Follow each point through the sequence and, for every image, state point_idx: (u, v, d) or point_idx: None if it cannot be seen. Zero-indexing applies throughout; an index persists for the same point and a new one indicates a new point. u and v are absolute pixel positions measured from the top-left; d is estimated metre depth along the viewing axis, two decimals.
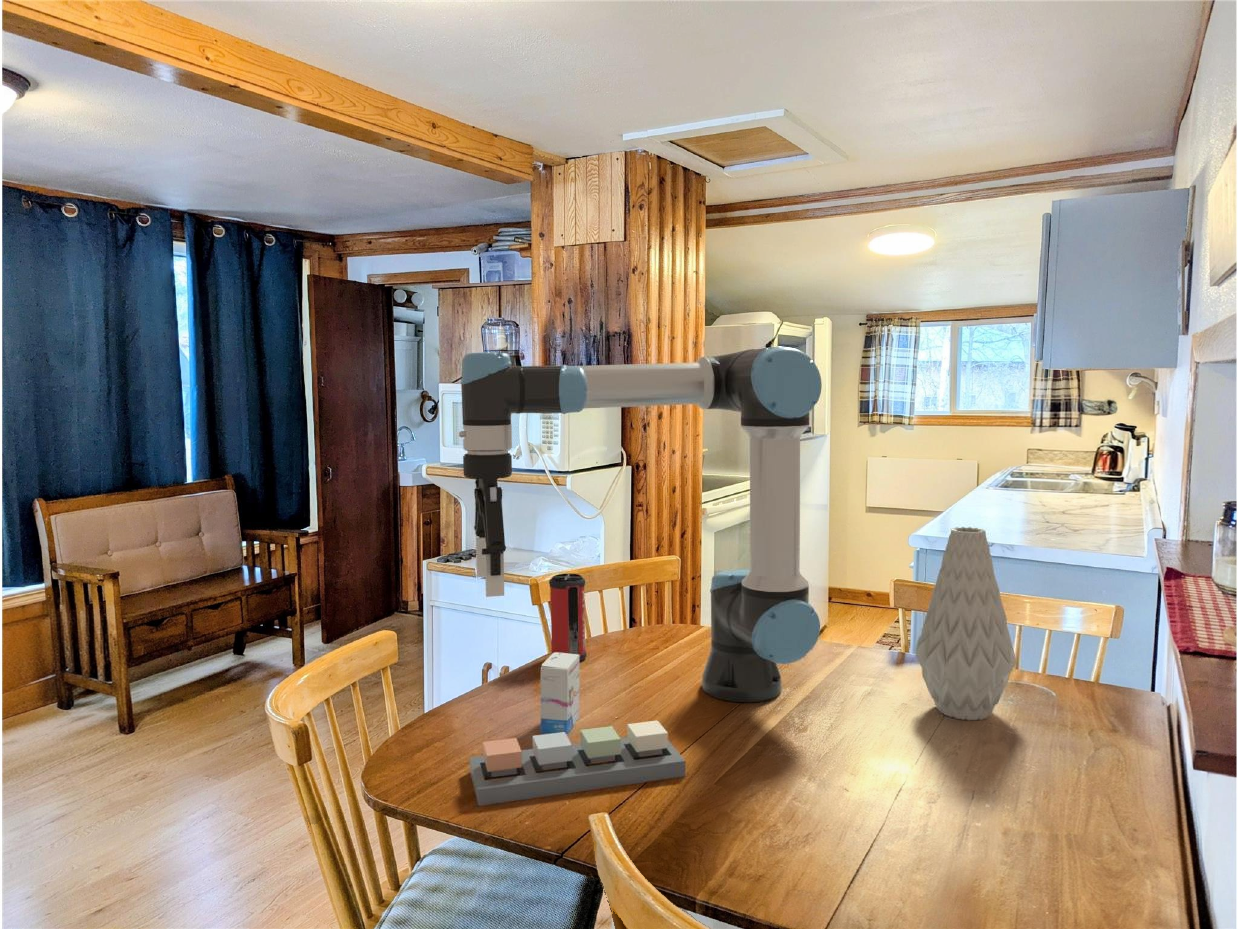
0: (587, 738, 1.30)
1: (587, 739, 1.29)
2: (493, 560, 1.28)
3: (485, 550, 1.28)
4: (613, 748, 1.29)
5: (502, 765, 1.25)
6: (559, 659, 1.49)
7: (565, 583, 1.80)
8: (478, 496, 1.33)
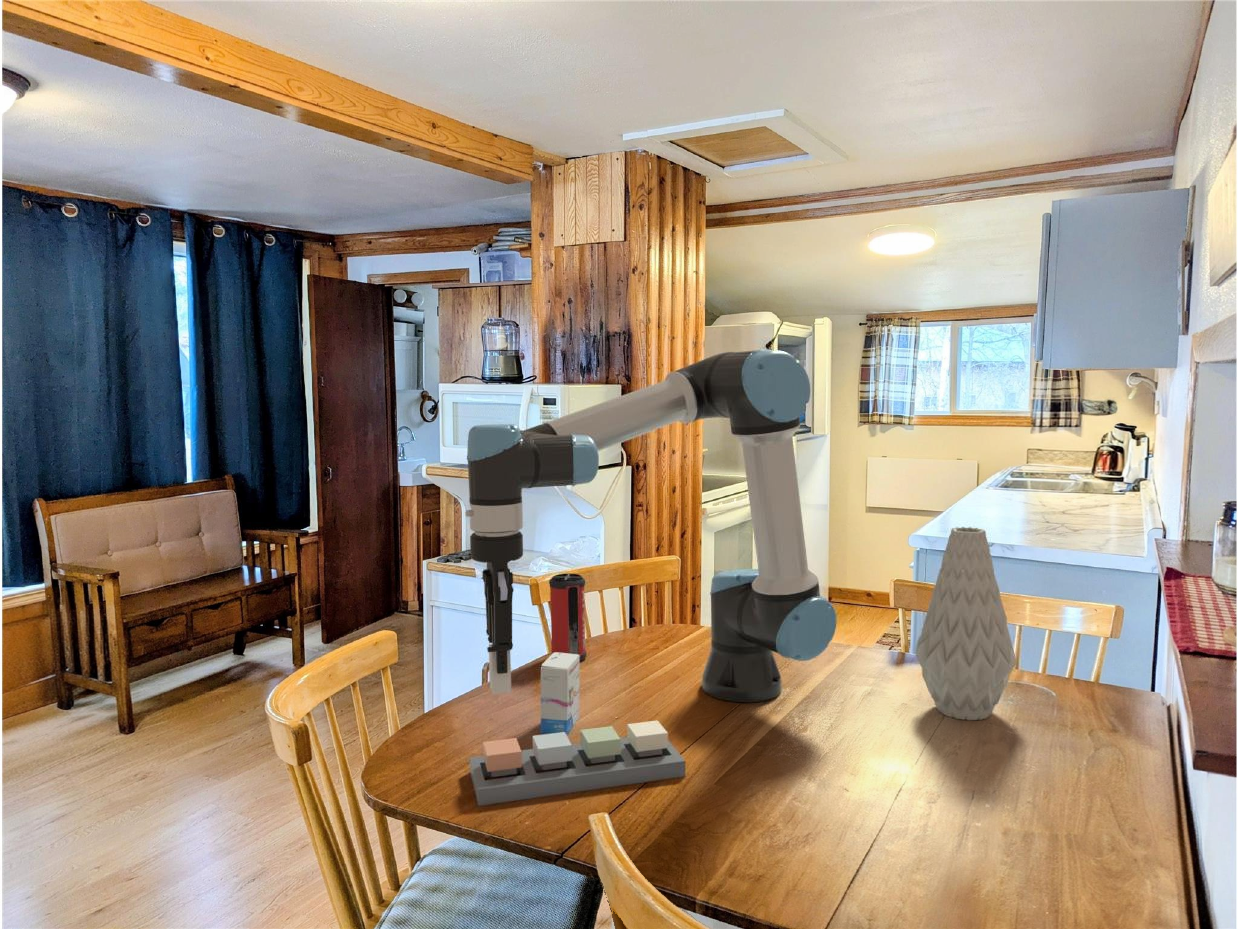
0: (587, 738, 1.30)
1: (587, 739, 1.29)
2: (499, 658, 1.23)
3: (491, 650, 1.23)
4: (613, 748, 1.29)
5: (502, 765, 1.25)
6: (559, 659, 1.49)
7: (565, 583, 1.80)
8: (487, 584, 1.22)
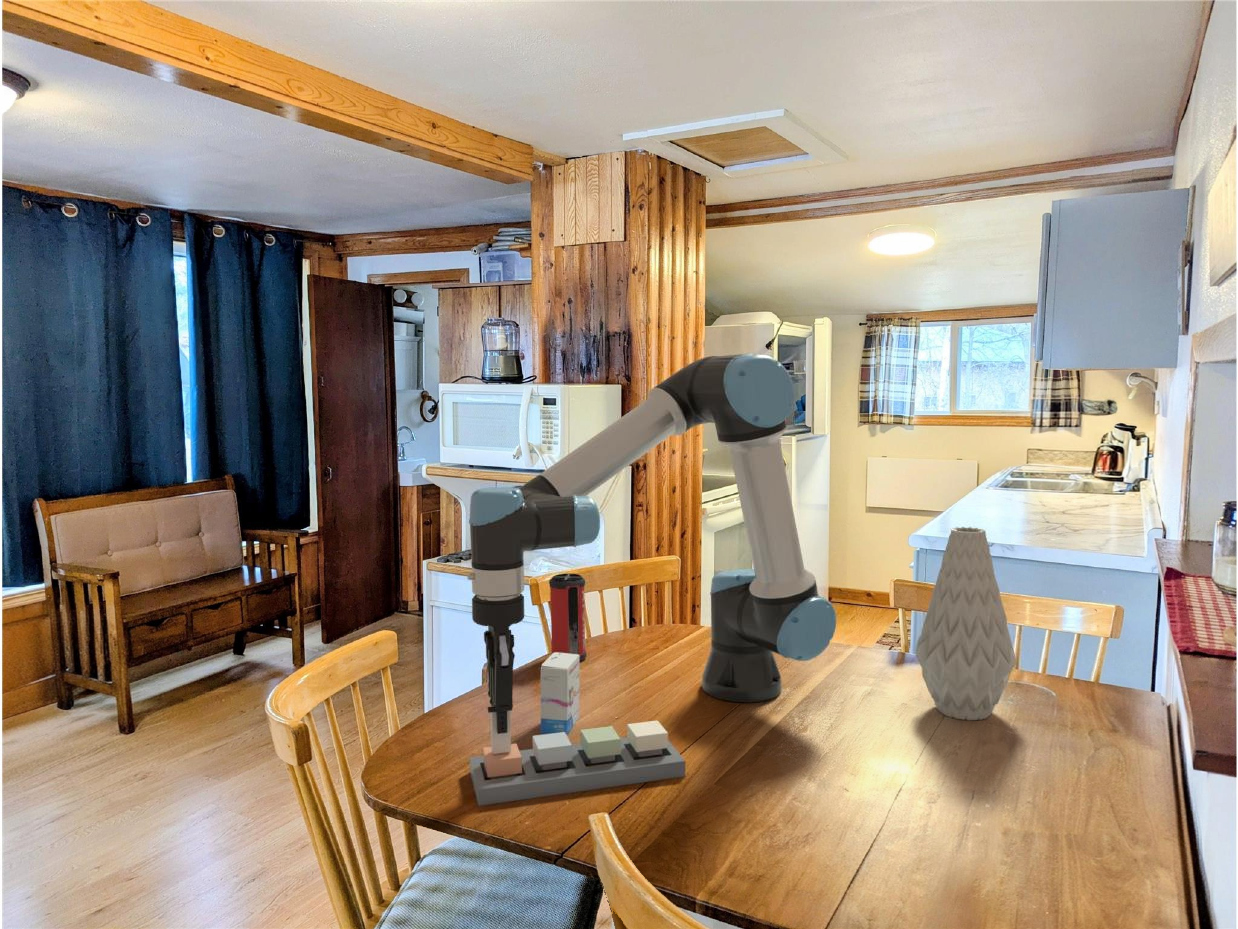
0: (587, 738, 1.30)
1: (587, 739, 1.29)
2: (500, 718, 1.25)
3: (491, 711, 1.24)
4: (613, 748, 1.29)
5: (502, 771, 1.25)
6: (559, 659, 1.49)
7: (565, 583, 1.80)
8: (488, 647, 1.23)
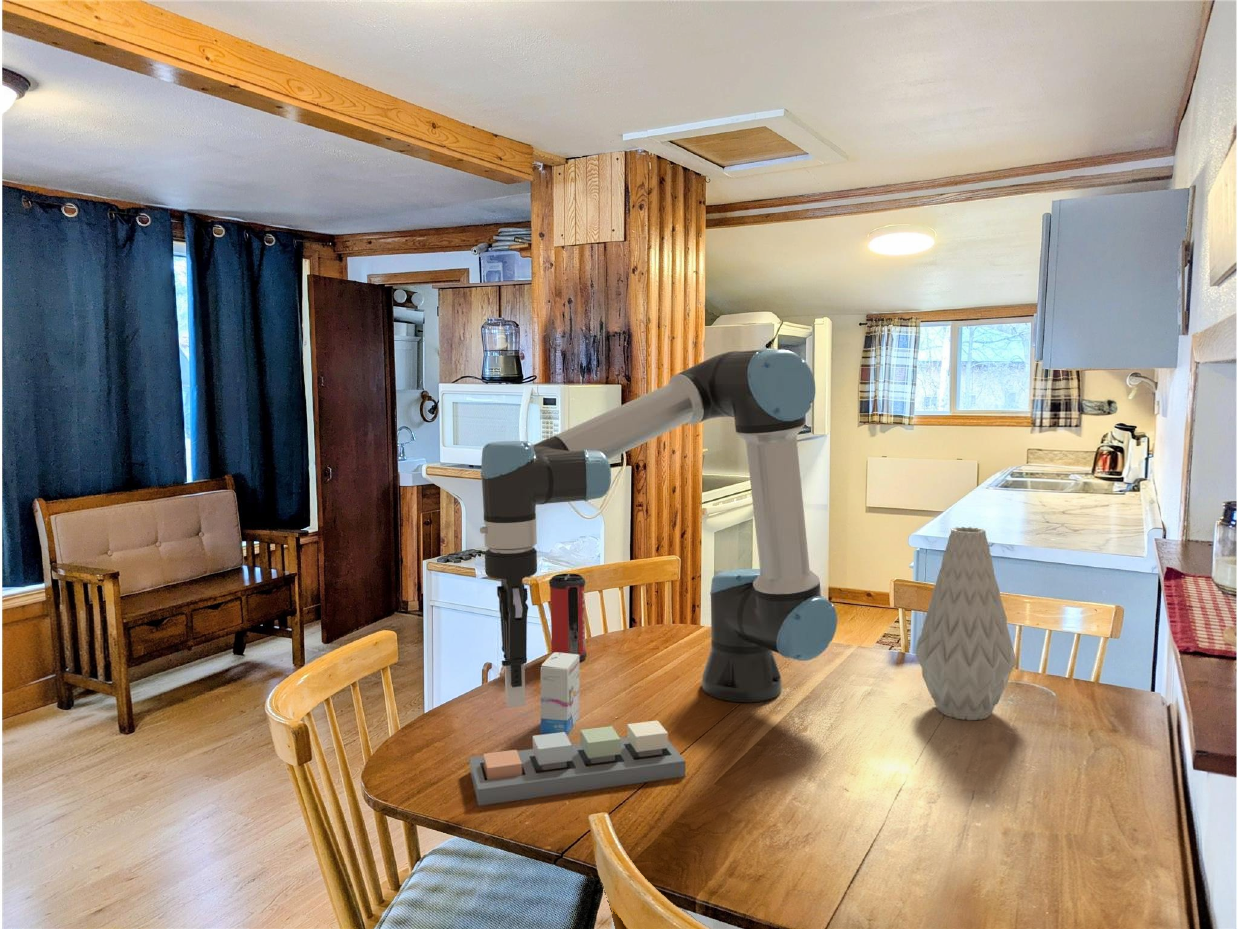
0: (587, 738, 1.30)
1: (587, 739, 1.29)
2: (514, 671, 1.25)
3: (506, 664, 1.24)
4: (613, 748, 1.29)
5: (502, 777, 1.25)
6: (559, 659, 1.49)
7: (565, 583, 1.80)
8: (502, 600, 1.23)
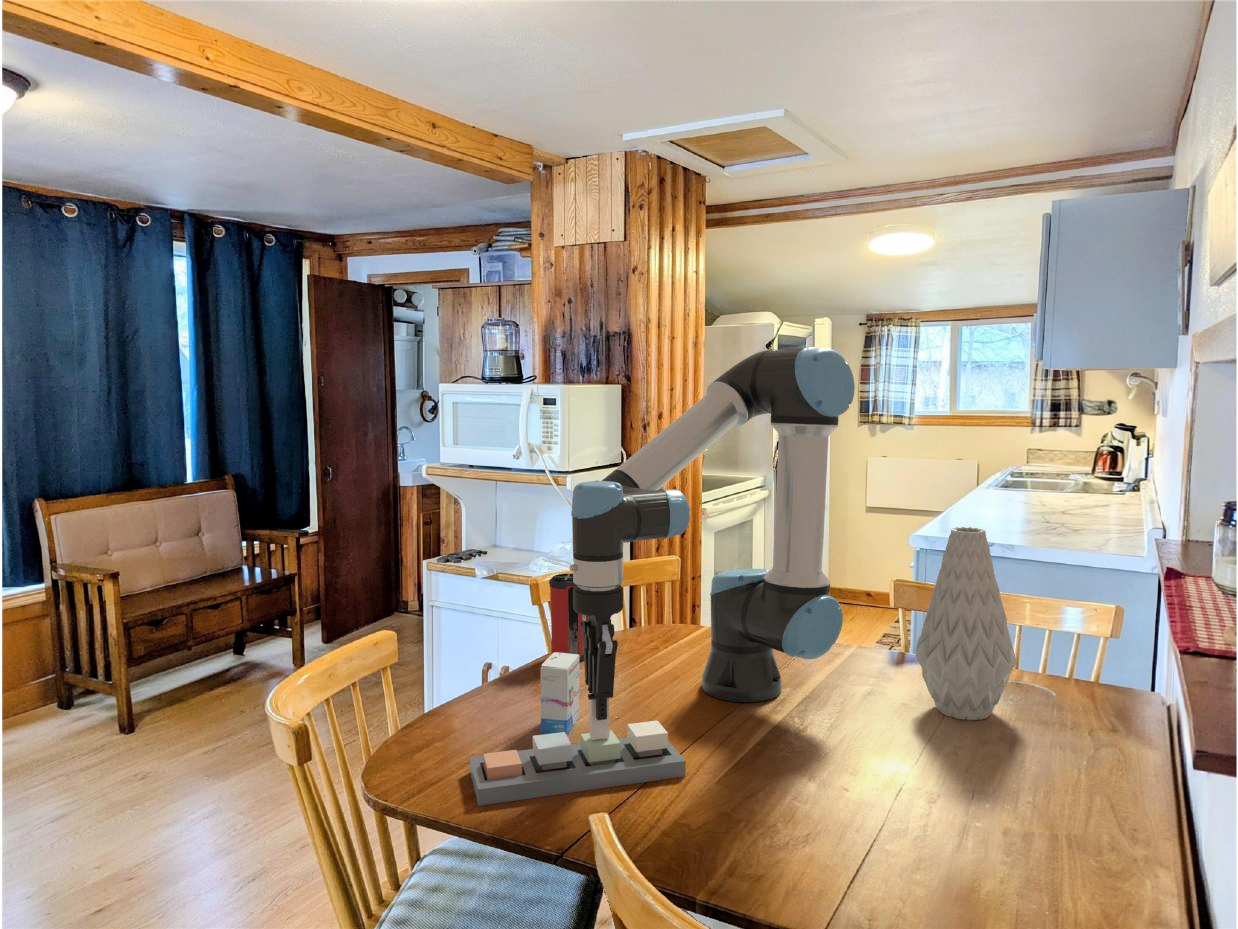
0: (587, 742, 1.30)
1: (587, 743, 1.29)
2: (600, 705, 1.29)
3: (592, 698, 1.28)
4: (613, 752, 1.29)
5: (502, 777, 1.25)
6: (559, 659, 1.49)
7: (565, 583, 1.80)
8: (590, 636, 1.27)
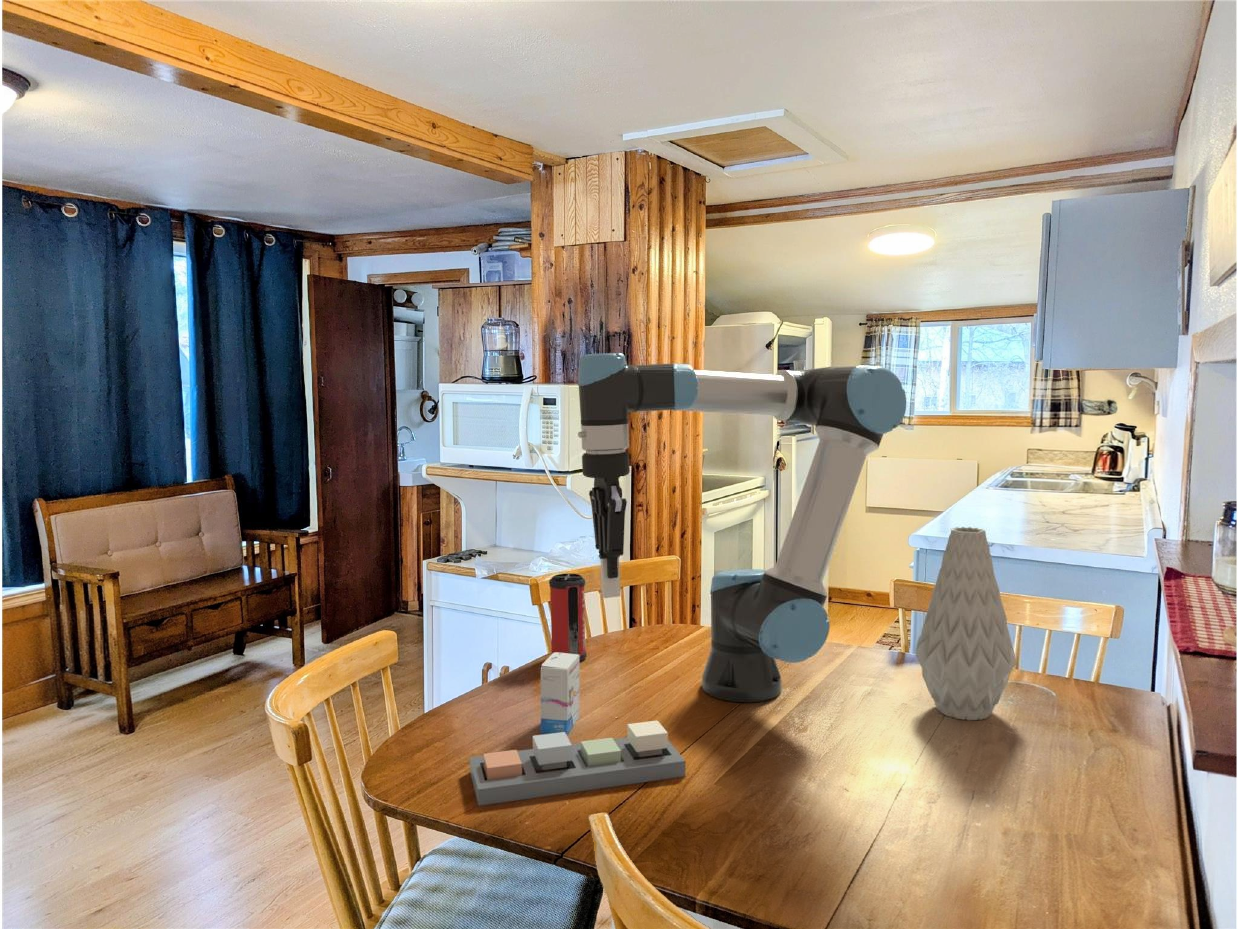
0: (587, 750, 1.30)
1: (587, 751, 1.30)
2: (611, 564, 1.37)
3: (603, 557, 1.36)
4: (613, 760, 1.30)
5: (502, 777, 1.25)
6: (559, 659, 1.49)
7: (565, 583, 1.80)
8: (599, 498, 1.35)
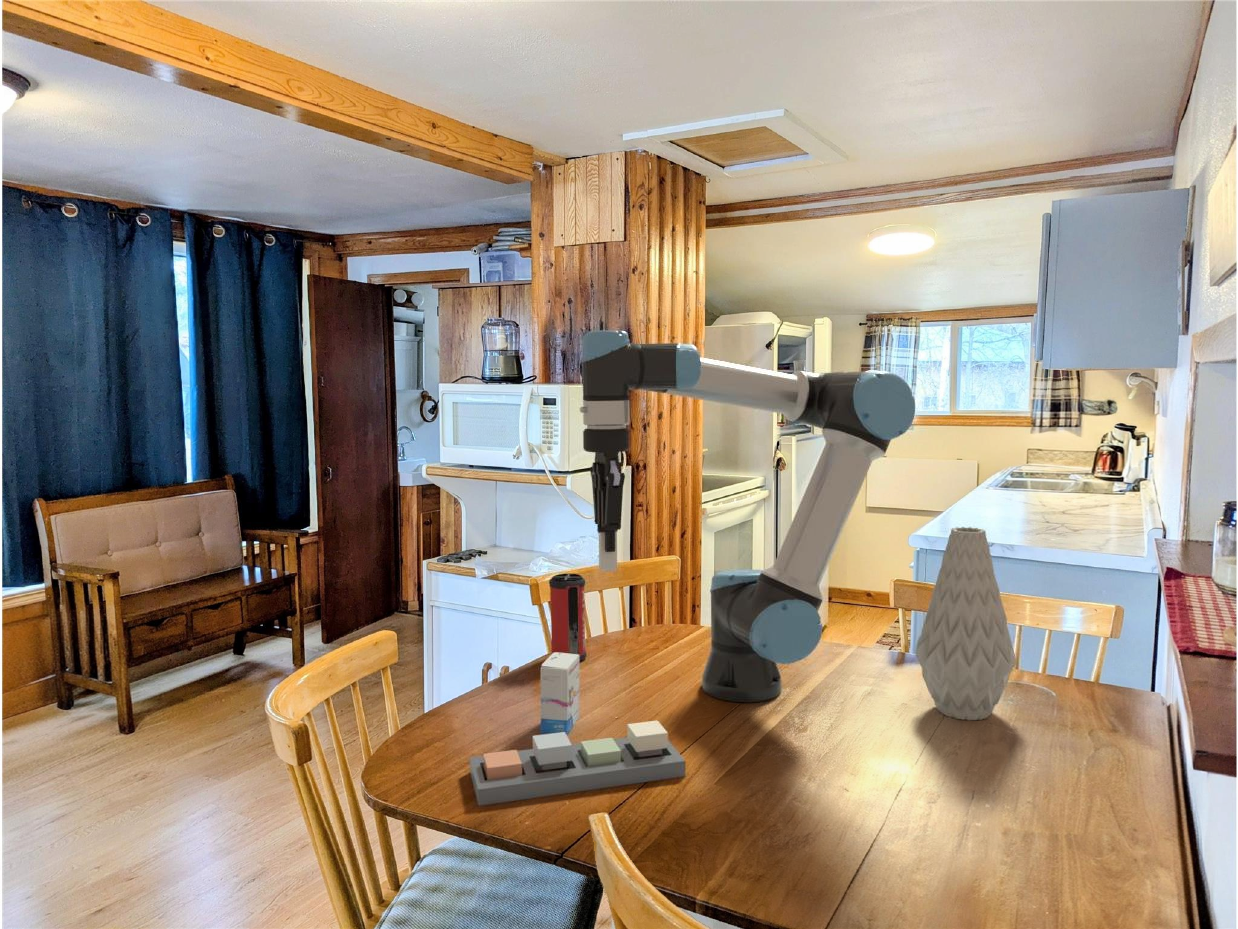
0: (587, 750, 1.30)
1: (587, 751, 1.30)
2: (608, 537, 1.39)
3: (601, 531, 1.39)
4: (613, 760, 1.30)
5: (502, 777, 1.25)
6: (559, 659, 1.49)
7: (565, 583, 1.80)
8: (599, 472, 1.38)
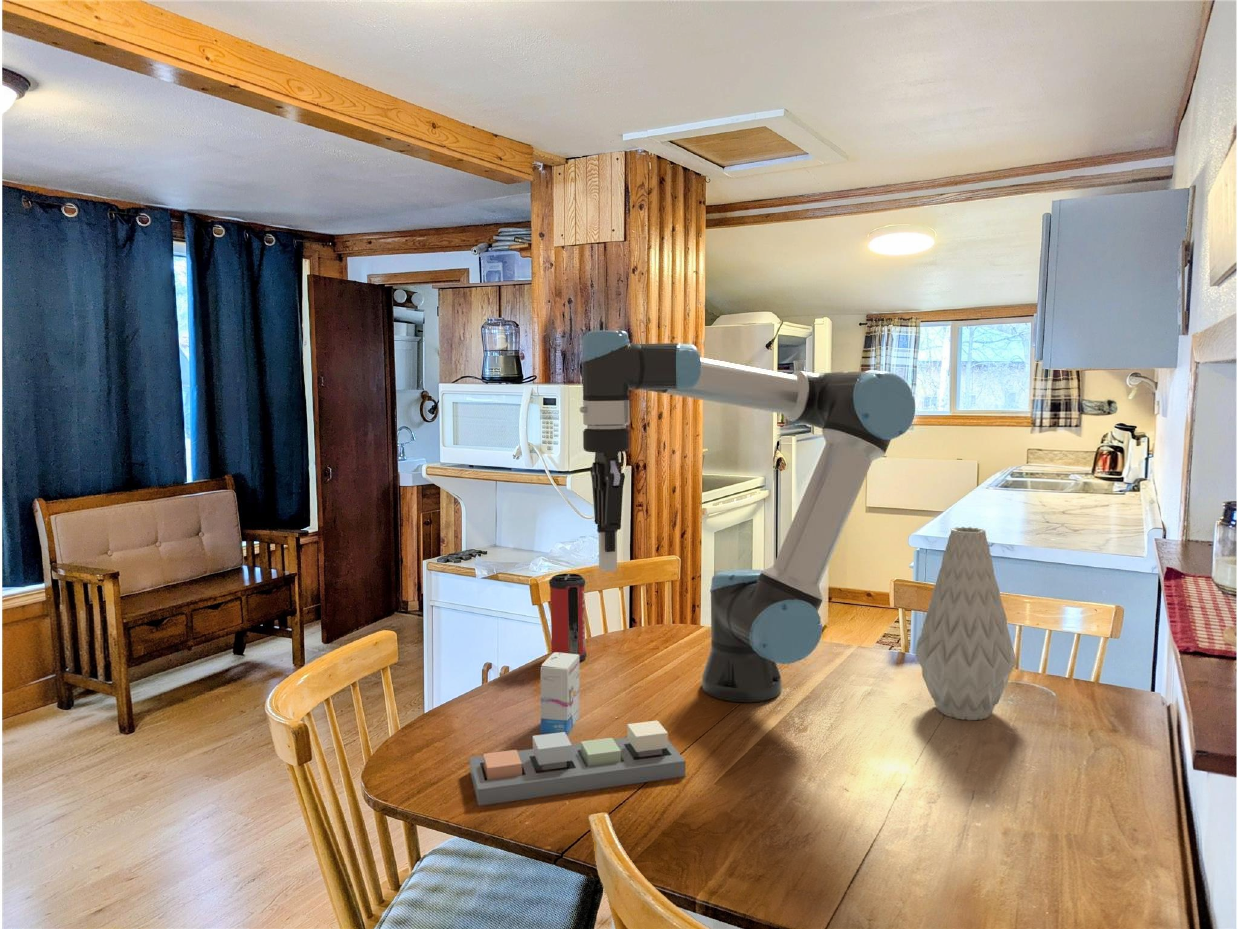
0: (587, 750, 1.30)
1: (587, 751, 1.30)
2: (608, 537, 1.39)
3: (601, 531, 1.39)
4: (613, 760, 1.30)
5: (502, 777, 1.25)
6: (559, 659, 1.49)
7: (565, 583, 1.80)
8: (599, 472, 1.38)
